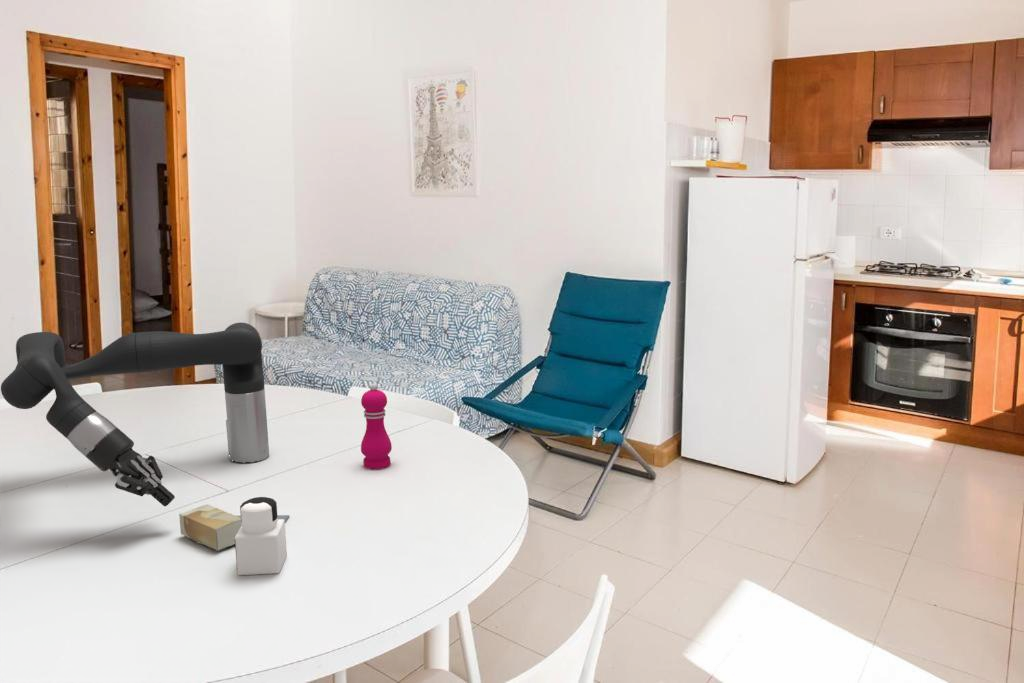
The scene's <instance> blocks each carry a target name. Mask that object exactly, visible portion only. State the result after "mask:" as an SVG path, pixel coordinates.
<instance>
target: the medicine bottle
mask: <svg viewBox="0 0 1024 683" xmlns="http://www.w3.org/2000/svg"><path fill="white" fill-rule="evenodd" d="M239 511H240V512H239V513H240V516H241V525H242V526H241V528H240V529H239V531H238V533H237V534H236V536H235V544H234V546H235V559H236V572H237V575H238V576H253V575H254V576H255V575H274V574H275V575H276V574H277V575H278V574H279V573H281V570H282V567H283V565H284V563H285V561H286V558H287V556H288V550H287V539H286V538H287V536H286V523H285V521H284V519H278V517H277V515H278V506H277V501H276V500H275V499H274V498H271V497H266V496H257V497H253V498H249V499H247V500H245V501H244V502H242V503H241V505H240V506H239Z"/></svg>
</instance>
